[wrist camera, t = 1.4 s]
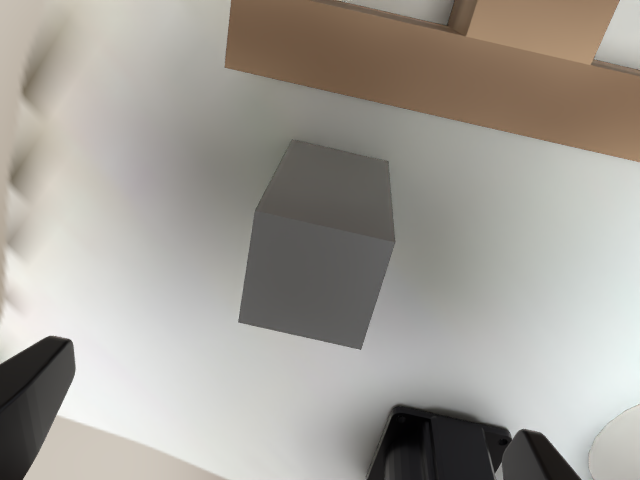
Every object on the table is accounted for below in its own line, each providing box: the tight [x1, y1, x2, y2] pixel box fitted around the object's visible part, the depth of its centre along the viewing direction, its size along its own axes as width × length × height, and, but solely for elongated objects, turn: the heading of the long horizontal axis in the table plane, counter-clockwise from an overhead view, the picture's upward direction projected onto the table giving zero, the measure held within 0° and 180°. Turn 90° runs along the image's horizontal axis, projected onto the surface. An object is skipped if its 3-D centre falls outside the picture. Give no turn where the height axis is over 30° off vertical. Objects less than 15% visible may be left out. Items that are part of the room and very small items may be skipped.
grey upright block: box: [238, 140, 395, 350], centre depth 18 cm, size 4×4×7 cm
